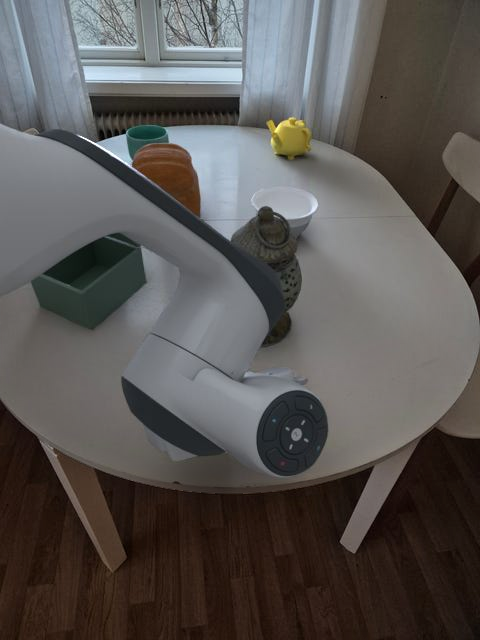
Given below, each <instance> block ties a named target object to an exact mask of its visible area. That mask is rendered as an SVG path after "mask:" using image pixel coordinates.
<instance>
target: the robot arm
mask: <svg viewBox="0 0 480 640" xmlns="http://www.w3.org/2000/svg"><path fill="white" fill-rule="evenodd" d="M118 232H119V233H121V234H123V235H125V236H126V237H128V238H130V239H131V240H133V241H135V242H136V243H138V244H140V245H141V247H143V248H144V249H146V250H148V251H150V252H151V253H153V254H155V255H156V256H157V257H160V258H161V259H163V260H164V261H166V262H168V263H169V264H171V265H173V266H174V267H176V268H178V271H179V274H178V275H179V276H178V282H177V285H176V288H175V290H174V292H173V294H172V295H171V297H170V298H169V300H168V302H167V303H166V305H165V307H164V309H162V311H161V313H160V314H159V317H158V318H157V319H156V321H155V323H154V324H153V326H152V328H151V329H150V331H149V333H147V334H146V336H145V338H144V339H143V340H142V342H141V344H140V345H139V347H138V348H137V350H136V351H135V354H134V355H133V357H132V358H131V360H130V361H129V364H128V365H127V366H126V369H125V370H124V373H123V374H122V375H121V378H120V380H121V381H120V382H121V389H122V393H123V396H124V399H125V401H126V404H127V406H128V409H129V411H130V413H131V414H132V415H133V416H134V417H135V418H136V419H137V420H138V421H139V422H140V423H141V425H142V428H143V431H144V434H145V437H146V440H147V442H148V443H149V444H150V445H151V447H153V448H154V449H155V450H157V451H159V452H161V453H167V455H168V457H169V459H170V461H172V462H175V463H176V462H181V461H186V460H190V459H194V458H198V457H213V456H219V455H223V454H229V455H230V456H231V457H232V458H234V459H235V460H236V461H238V462H239V463H241V464H242V465H244V466H246V467H247V468H249V469H251V470H253V471H255V472H257V473H260V474H263V475H266V476H269V477H271V478H272V477H273V478H278V479H291V478H295V477H298V476H299V475H302V474H303V473H305V472H307V471H308V470H309V469H310V468H311V467H313V465H315V463H317V461H318V459H319V458H320V456H321V454H322V452H323V450H324V447H325V445H326V442H327V439H328V435H329V420H328V418H329V417H328V414H327V410H326V407H325V406H324V403H323V402H322V400H321V399H320V398H319V397H318V395H317V394H315V393H314V392H313V391H312V390H310V389H309V388H307V387H306V385H307V384H308V383H309V380H308V378H307V377H306V376H303V375H302V376H301V375H300V376H298V375H297V376H295V374H294V371H293V369H292V368H289V367H287V366H282V365H280V366H272V367H270V368H267V369H264V370H260V371H258V372H252V371H248V370H249V368H250V366H251V364H252V362H253V361H254V359H255V356H256V355H257V354H258V351H259V350H260V348H261V347H260V346H261V344H262V342H263V341H264V339H265V338H266V337H267V336H268V334H269V333H270V331H271V330H272V328H273V327H274V325H275V324H276V322H277V321H278V319H279V318H280V316H281V315H282V313H283V312H284V310H285V299H284V294H283V289H282V285H281V282H280V280H279V277H278V275H277V273H276V272H275V271H274V270H273V269H272V268H271V267H270V266H269V265H268V264H266V263H265V262H263V261H262V260H260V259H259V258H257V257H256V256H254V255H252V254H251V253H249V252H248V251H246V250H244V249H243V248H241V247H239V246H238V245H236V244H234V243H233V242H231V239H228V238H227V237H226V236H225V235H223V234H222V233H220V232H219V231H218V230H216V229H215V228H213V227H212V226H211V225H209V223H207V222H205V221H204V220H203V219H202V218H201V217H200V218H199V217H198V216H196V215H195V214H194V213H192V212H191V211H190V210H189V209H187V208H186V207H185V206H183V205H182V204H181V203H179V202H178V201H177V200H176V199H174V198H173V197H172V196H170V195H169V194H168V193H166V192H165V191H164V190H163V189H161V188H160V187H159V186H157V185H156V184H155V183H153V182H152V181H151V180H149V179H148V178H146V177H145V176H144V175H142V174H141V173H140V172H138V171H137V170H135V169H134V168H133V167H132V165H130V164H128V163H127V162H125V161H124V160H122V159H121V158H119V157H118V156H116V155H115V154H114V153H112V152H111V151H110V150H107V149H106V148H104V147H103V146H101V145H99V144H97V143H95V142H93V141H91V140H89V138H88V139H87V138H86V137H83V136H82V135H79V134H76V133H74V132H70V131H68V130H65V129H61V128H53V129H49V130H46V131H42V132H40V133H37V134H32V133H27V132H23V131H20V130H18V129H14V128H11V127H9V126H7V125H5V124H2V123H0V297H3V296H5V295H8V294H10V293H11V292H12V293H13V292H14V291H16V290H18V289H19V288H22V287H24V286H26V285H27V284H29V283H31V281H32V280H34V279H35V278H37V277H38V276H40V275H41V274H43V273H44V272H45V271H47V270H48V269H50V268H51V267H52V266H54V265H55V264H57V263H58V262H60V261H61V260H63V259H64V258H66V257H67V256H69V255H70V254H72V253H73V252H75V251H77V250H78V249H80V248H82V247H84V246H85V245H87V244H89V243H91V242H93V241H95V240H97V239H99V238H102V237H104V236H106V235H109V234H113V233H118Z"/></svg>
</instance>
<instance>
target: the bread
mask: <svg viewBox="0 0 480 640" xmlns="http://www.w3.org/2000/svg"><path fill="white" fill-rule="evenodd" d="M192 160H193V159H192V156H191V154H190V152H189V151H188V150H187V149H186V148H184V147H183V146H181V145H179V144H176V143H173V142H169V143H152V144H148V145H145V146H143V147H142V148H141V149H139V150H138V151H137V152H136V153H135V155H134V158H133V160H132V162H131V163H132V164H131V167H133V168H134V169H135V170H137V171H138V172H140V173H141V174H142V175H144V176H145V177H146V178H148V179H149V180H151V181H152V182H153V183H155V184H156V185H157V186H159V187H160V188H161V189H163V190H164V191H165V192H166V193H168V194H169V195H170V196H172V197H173V198H174V199H176V200H177V201H178V202H179V203H181V204H182V205H183V206H185V207H186V208H187V209H189V210H190V211H191V212H192V213H194V214H195V215H196V216H198V217H199V218H200V219H201V205H202V204H201V189H200V181H199V180H200V179H199V174H198V172H197V171H196V169H195V167H194V165H193V163H192V162H193V161H192Z"/></svg>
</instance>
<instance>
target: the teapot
mask: <svg viewBox="0 0 480 640" xmlns="http://www.w3.org/2000/svg"><path fill="white" fill-rule="evenodd" d="M266 125H267V127H268V128H269V131H270V133H271V135H270V136H271V139H270V145H271V147H272V149H273V150H274V151H275V152H274V155H276V156H280V155H283V156H287V159H288V160H295V156H299V155H301V156H302V155H304V153H305V152H311V151H312V146H311V144H310V142H311V140H312V136H313V135H312V131H311V129H309V128H307V122H306V120H304V119H300V120H298V119H297V118H296V117H289V118H288V119H284V120H282V121H281V122H280V123H279V124H278V125H277V127H276V125H275V123H274V121H273V119H270V120H268V121H266Z"/></svg>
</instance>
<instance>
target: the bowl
mask: <svg viewBox="0 0 480 640" xmlns="http://www.w3.org/2000/svg"><path fill="white" fill-rule="evenodd" d="M250 204H251V207H252V208H253V209H254V213H255V216H258V211H259V209H260V208H261V207H263V206H268V207H271V208H272V210H273V212H276V213H279V214H281V215H282V216H283V217H284V218H285V219H286V220H287V221H288V223H289V225H290V228H291V234H292V235H293V236H294V237H295V239H296V240H298V238H299V235H300V234H301V233H303V232H304V231H305V230H306V229H307V227H308V226H309V225H310V222H311V220H312V218H313V215H314V214H316V213H317V211H318V209H319V201H318V200H317V198H316V197H315V196H314V195H313V194H311V192H308V191H306V190H303V189H301V188H297V187H292V186H283V185H282V186H280V185H279V186H270V187H266V188H262V189H261V190H258V191H256V192H255V193H254V194H253V196H252V197H251V201H250ZM274 216H275V215H274ZM275 217H277V216H275ZM278 218H279V217H278ZM279 219H280V218H279ZM284 224H285V223H284ZM285 226H286V225H285ZM286 228H287V227H286Z"/></svg>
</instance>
